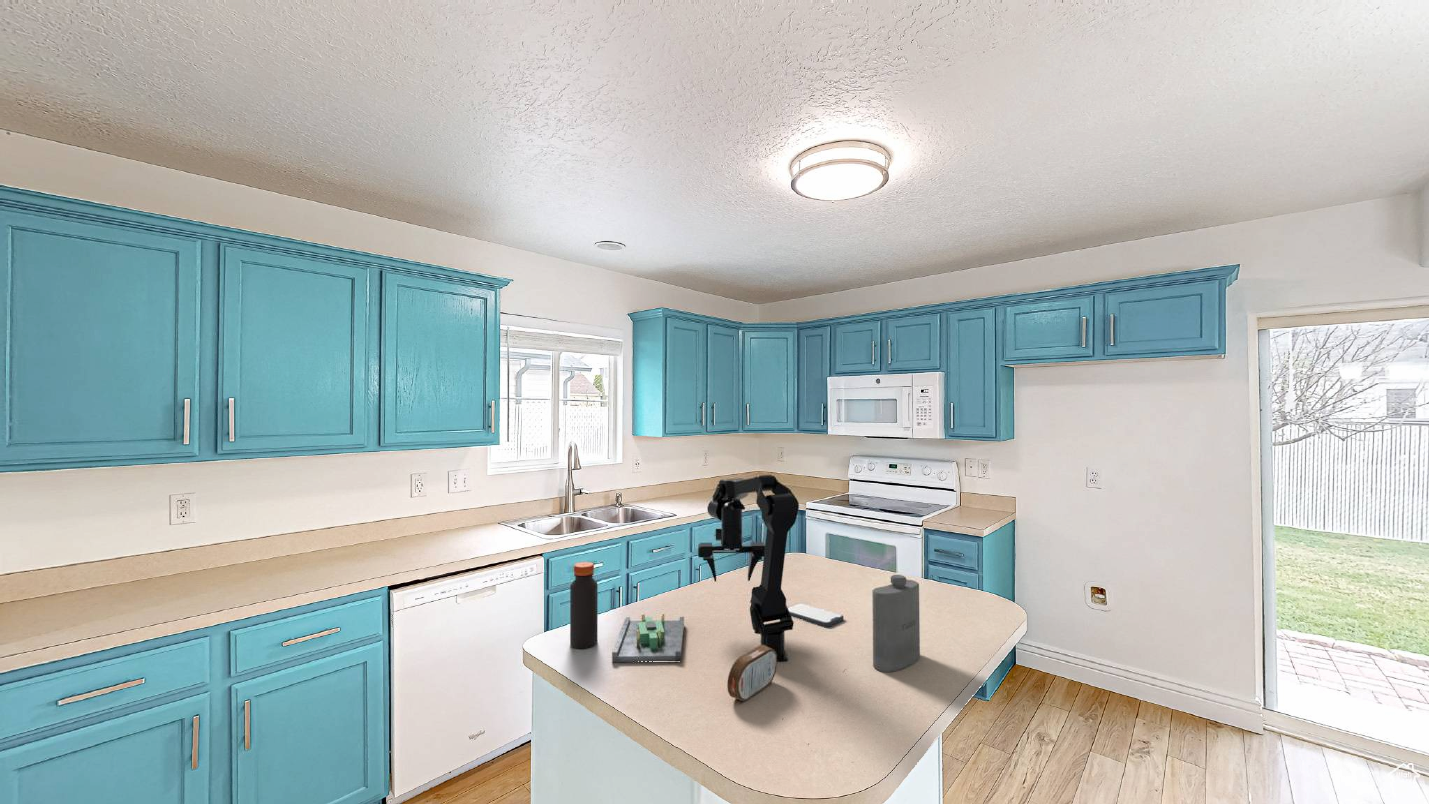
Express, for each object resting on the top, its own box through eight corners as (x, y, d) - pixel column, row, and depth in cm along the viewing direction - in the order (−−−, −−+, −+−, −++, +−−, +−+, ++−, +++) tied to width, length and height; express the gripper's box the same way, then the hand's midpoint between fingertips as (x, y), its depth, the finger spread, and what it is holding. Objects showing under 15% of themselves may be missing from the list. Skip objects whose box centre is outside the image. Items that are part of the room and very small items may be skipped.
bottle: (590, 650, 136) (590, 568, 136) (565, 648, 137) (565, 567, 138) (601, 639, 142) (601, 561, 143) (577, 637, 144) (577, 560, 144)
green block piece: (666, 647, 134) (666, 634, 134) (641, 649, 133) (641, 636, 133) (659, 625, 148) (659, 613, 148) (636, 627, 146) (636, 615, 146)
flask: (890, 676, 122) (889, 585, 123) (868, 666, 127) (867, 579, 127) (927, 657, 132) (926, 573, 132) (905, 649, 136) (904, 567, 136)
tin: (767, 676, 122) (767, 638, 123) (779, 680, 120) (779, 642, 121) (725, 704, 111) (725, 662, 111) (738, 709, 109) (738, 666, 109)
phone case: (781, 615, 161) (827, 629, 149) (781, 609, 161) (827, 623, 149) (800, 607, 167) (845, 621, 155) (799, 602, 167) (845, 615, 155)
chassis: (680, 662, 129) (680, 639, 129) (612, 663, 129) (612, 639, 129) (684, 625, 151) (684, 606, 151) (625, 626, 151) (625, 606, 151)
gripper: (761, 518, 161) (762, 571, 161) (697, 518, 160) (698, 572, 160) (766, 526, 150) (767, 583, 150) (698, 526, 149) (698, 584, 149)
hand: (732, 580), depth 152 cm, fingers open, 9 cm apart
